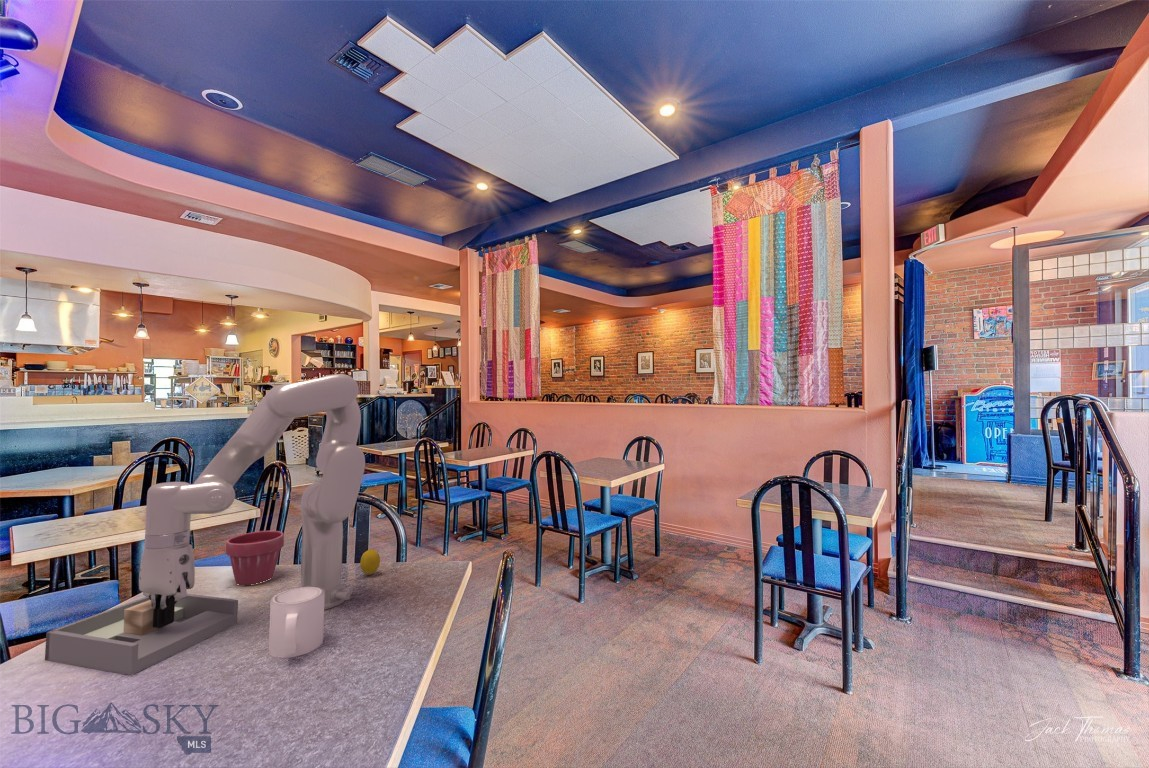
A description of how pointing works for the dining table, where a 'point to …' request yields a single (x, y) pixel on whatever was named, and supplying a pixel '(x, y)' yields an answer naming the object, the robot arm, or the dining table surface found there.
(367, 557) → the lemon
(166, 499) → the robot arm
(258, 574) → the plant pot
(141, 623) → the maple block
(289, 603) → the mug
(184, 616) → the box
